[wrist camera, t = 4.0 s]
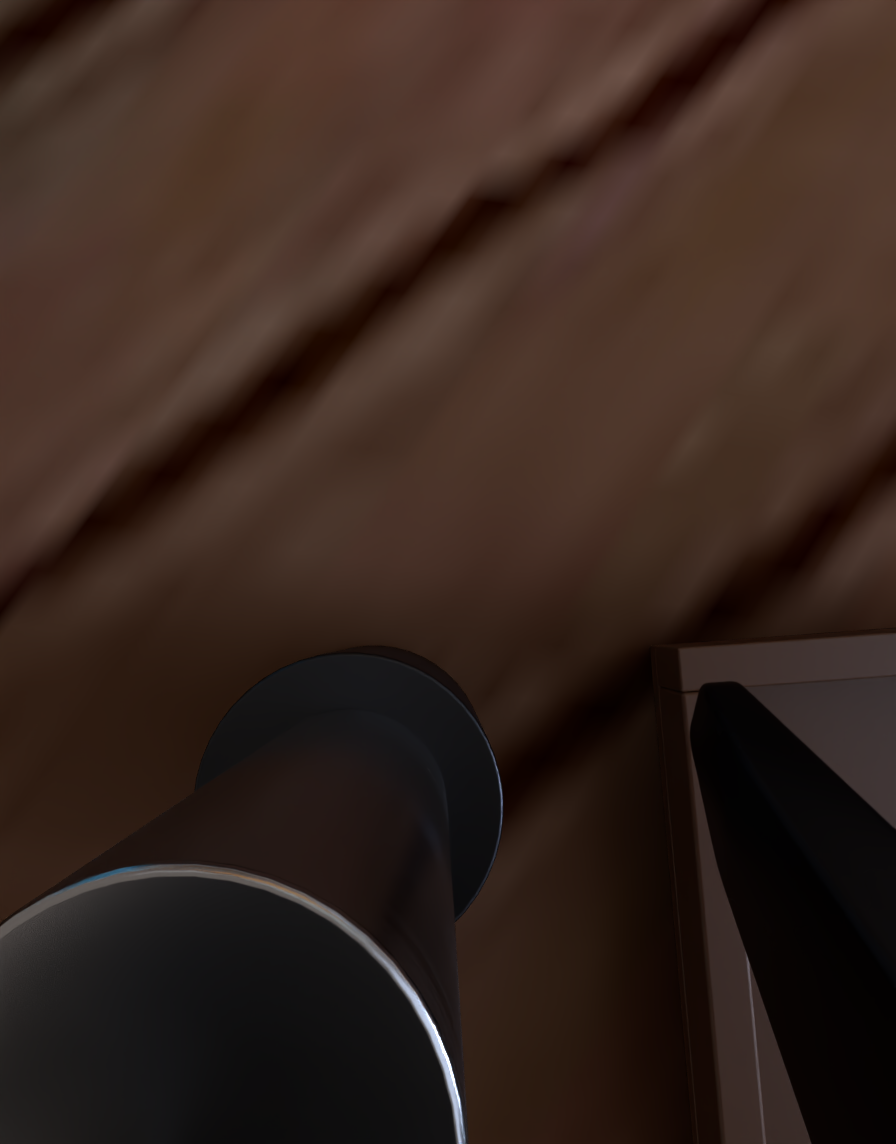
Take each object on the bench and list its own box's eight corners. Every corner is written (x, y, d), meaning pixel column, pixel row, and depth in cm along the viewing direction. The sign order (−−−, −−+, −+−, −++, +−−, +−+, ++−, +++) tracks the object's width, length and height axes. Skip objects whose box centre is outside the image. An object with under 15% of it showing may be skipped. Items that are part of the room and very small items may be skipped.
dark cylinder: (491, 858, 17) (679, 1635, 4) (270, 876, 17) (-305, 1727, 4) (475, 637, 17) (599, 664, 4) (257, 653, 17) (-314, 728, 4)
